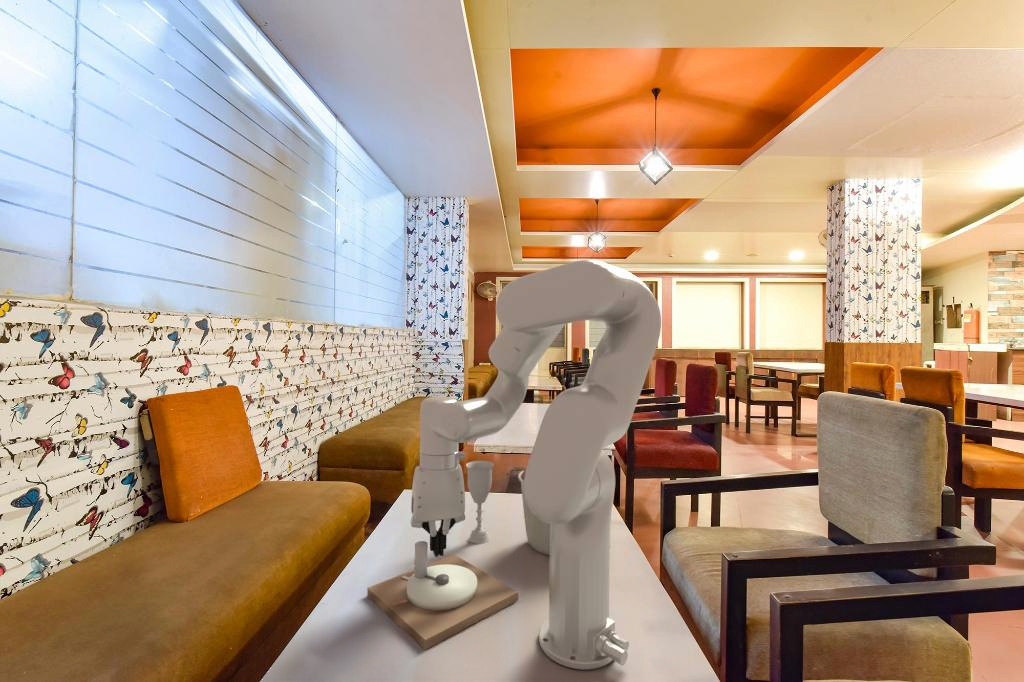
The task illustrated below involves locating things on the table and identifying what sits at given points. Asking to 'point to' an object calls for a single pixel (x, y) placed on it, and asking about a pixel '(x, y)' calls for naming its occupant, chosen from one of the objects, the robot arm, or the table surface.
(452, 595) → the dial
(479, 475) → the chalice
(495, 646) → the table surface
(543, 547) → the canister
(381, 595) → the dial base
